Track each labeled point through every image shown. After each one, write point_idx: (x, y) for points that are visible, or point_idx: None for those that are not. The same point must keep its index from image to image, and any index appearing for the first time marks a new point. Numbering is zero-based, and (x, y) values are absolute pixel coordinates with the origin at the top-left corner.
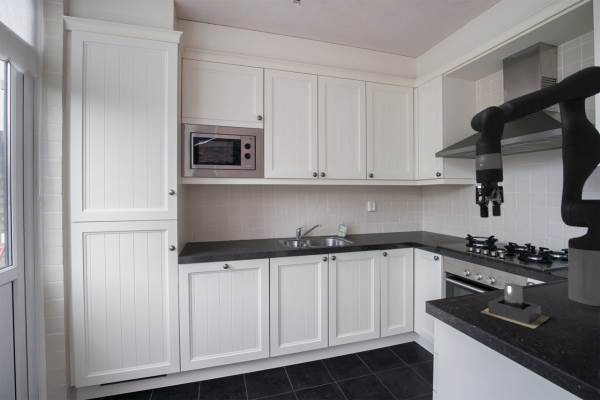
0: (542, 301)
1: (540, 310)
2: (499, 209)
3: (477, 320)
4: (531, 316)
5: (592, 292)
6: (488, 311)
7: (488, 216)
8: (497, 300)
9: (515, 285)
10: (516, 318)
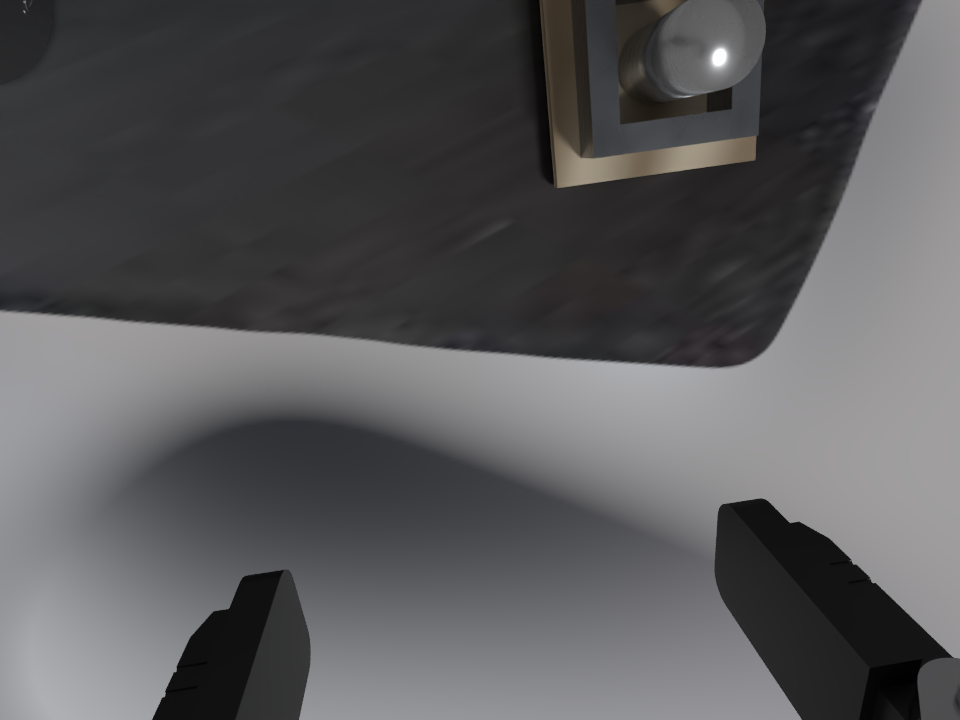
0: (237, 128)
1: None
2: (248, 678)
3: (801, 137)
4: None
5: None
6: (717, 145)
7: (740, 505)
8: (695, 126)
9: (712, 31)
10: None
